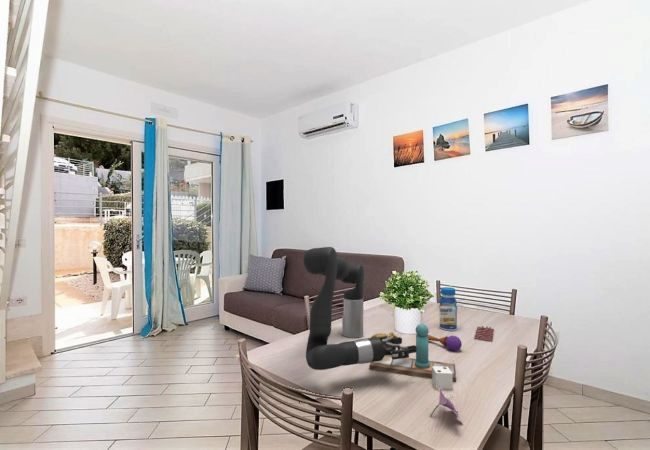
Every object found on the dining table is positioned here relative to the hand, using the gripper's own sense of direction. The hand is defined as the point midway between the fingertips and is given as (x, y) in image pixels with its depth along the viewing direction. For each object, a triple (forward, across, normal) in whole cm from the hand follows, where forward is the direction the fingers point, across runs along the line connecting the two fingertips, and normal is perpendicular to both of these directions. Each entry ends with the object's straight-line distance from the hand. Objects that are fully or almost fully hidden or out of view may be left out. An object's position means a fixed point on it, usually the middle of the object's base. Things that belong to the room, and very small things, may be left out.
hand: (408, 344), depth 111 cm
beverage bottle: (+47, +34, +10) cm, 59 cm away
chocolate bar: (+57, +21, +10) cm, 62 cm away
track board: (+3, +2, +10) cm, 11 cm away
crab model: (+4, +26, +10) cm, 28 cm away
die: (+5, -11, +10) cm, 16 cm away
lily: (-6, -25, +10) cm, 28 cm away
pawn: (+6, 0, +8) cm, 10 cm away
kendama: (+28, +18, +10) cm, 35 cm away
